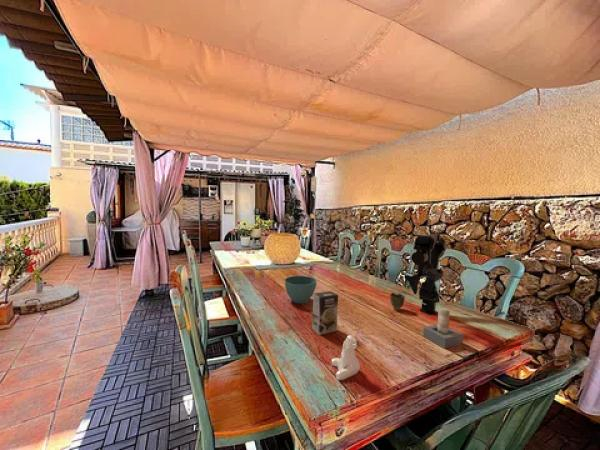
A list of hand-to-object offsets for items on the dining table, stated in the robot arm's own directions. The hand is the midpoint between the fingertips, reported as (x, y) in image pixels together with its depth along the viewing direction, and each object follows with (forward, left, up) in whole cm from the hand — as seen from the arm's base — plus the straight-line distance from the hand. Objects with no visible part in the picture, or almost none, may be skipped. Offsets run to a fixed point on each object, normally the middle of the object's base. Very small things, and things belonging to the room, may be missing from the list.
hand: (422, 293), depth 126 cm
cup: (+2, -14, -13) cm, 19 cm away
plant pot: (+46, -43, -13) cm, 64 cm away
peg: (+9, +18, -13) cm, 24 cm away
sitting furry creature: (+57, +22, -13) cm, 63 cm away
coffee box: (+50, -6, -13) cm, 52 cm away
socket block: (+9, +18, -13) cm, 24 cm away
